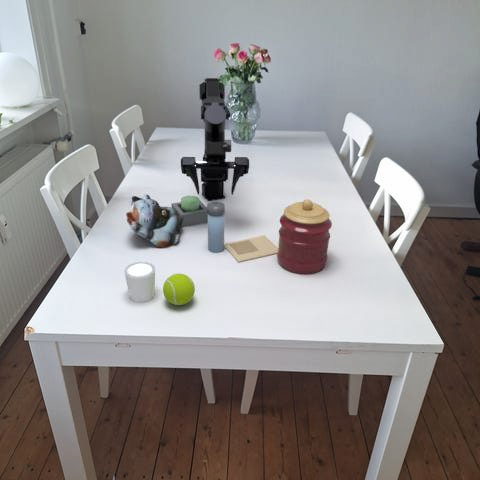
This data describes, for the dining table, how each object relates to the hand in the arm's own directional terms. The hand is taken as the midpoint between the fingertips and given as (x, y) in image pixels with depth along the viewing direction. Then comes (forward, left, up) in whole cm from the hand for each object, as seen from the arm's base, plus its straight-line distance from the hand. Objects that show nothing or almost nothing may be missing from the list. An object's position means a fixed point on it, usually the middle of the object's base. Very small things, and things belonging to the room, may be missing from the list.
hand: (215, 194), depth 127 cm
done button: (+3, -13, -10) cm, 17 cm away
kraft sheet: (-6, +11, -13) cm, 18 cm away
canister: (-15, +22, -13) cm, 30 cm away
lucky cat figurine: (+16, -5, -13) cm, 21 cm away
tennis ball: (+20, +26, -13) cm, 35 cm away
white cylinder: (+27, +20, -13) cm, 36 cm away
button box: (+3, -13, -13) cm, 19 cm away
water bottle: (+3, +7, -13) cm, 15 cm away
